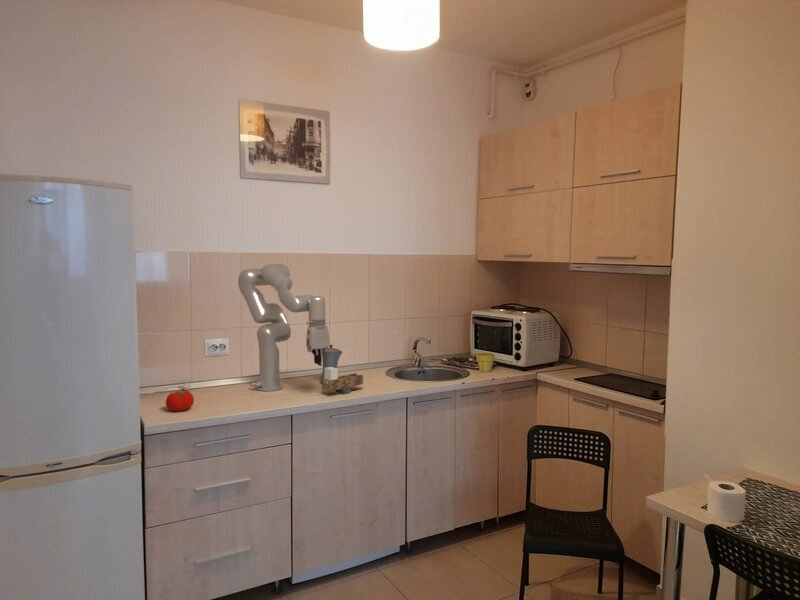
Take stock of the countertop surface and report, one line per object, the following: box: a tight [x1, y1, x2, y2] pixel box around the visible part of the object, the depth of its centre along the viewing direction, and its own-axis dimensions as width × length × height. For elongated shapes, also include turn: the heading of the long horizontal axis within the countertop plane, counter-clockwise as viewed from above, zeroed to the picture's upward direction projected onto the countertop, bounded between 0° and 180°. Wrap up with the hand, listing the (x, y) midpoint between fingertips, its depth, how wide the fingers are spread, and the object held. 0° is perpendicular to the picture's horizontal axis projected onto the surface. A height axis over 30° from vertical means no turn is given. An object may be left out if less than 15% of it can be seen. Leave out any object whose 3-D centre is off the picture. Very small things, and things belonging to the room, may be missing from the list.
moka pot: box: [317, 344, 343, 384], centre depth 278 cm, size 10×15×20 cm, turn 78°
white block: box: [324, 367, 339, 384], centre depth 255 cm, size 4×5×7 cm
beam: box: [321, 372, 364, 395], centre depth 260 cm, size 20×6×7 cm, turn 134°
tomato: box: [165, 390, 195, 413], centre depth 229 cm, size 11×11×8 cm
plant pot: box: [476, 352, 496, 373], centre depth 313 cm, size 10×10×10 cm
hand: (317, 363), depth 249 cm, fingers closed
